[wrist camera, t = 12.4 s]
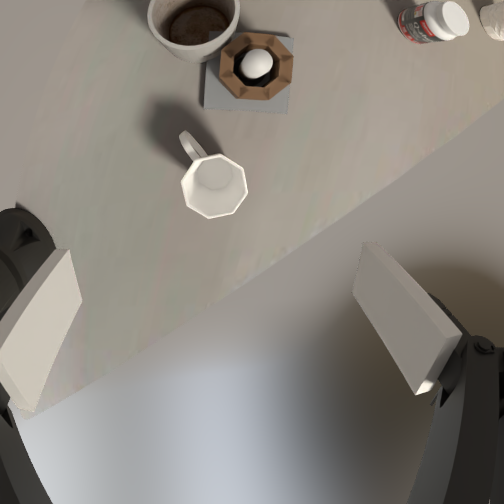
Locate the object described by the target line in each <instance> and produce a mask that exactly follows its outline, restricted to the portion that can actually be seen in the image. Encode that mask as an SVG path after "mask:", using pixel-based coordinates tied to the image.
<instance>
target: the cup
mask: <svg viewBox="0 0 504 504" xmlns="http://www.w3.org/2000/svg"><path fill="white" fill-rule="evenodd" d="M179 139H180V142H181V144H182V146H183V147H184V149H185V151H186V152H187V154H188V155H189V156H190V158H191V159H192V160H193V163H192V165H191V166H190V168H189V169H188V171H187V173H186V174H185V176H184V177H183V179H182V180H181V185H182V189H183V193H184V197H185V201H186V205H187V206H188V207H189V208H191V209H193V210H195V211H196V212H198V213H200V214H201V215H203V216H205V217H206V218H208V219H210V218H215V217H219V216H224V215H229V214H234V212H235V211H236V209H237V208H238V207H239V205H240V204H241V202H242V201H243V199H244V198H245V197H246V195H247V194H248V190H247V185H246V179H245V174H244V169H243V168H242V167H241V166H239V165H238V164H236V163H234V162H233V161H231V160H230V159H228V158H227V157H225V156H223V155H222V154H220V153H218V154H214V155H209V156H208V155H207V153H206V152H205V151H204V149H203V148H202V147H201V146H200V145H199V143H198V142H197V141H196V140H195V139H194V138H193V137H192V135H191V134H190V133H189V132H187V131H186V130H185V131H184V132H182V133H181V134H180V135H179ZM194 149H195V150H196V151H197V152H198V154H199V155H200V156H201V157H200V156H199V155H198V154H197V152H196V151H195V150H194Z"/></svg>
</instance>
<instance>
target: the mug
mask: <svg viewBox="0 0 504 504" xmlns="http://www.w3.org/2000/svg"><path fill="white" fill-rule="evenodd" d="M239 15H240V3H239V0H151V2H150V5H149V8H148V14H147V18H148V24H149V27H150V30H151V31H152V33H153V34H154V36H155V37H156V38H157V39H158V40H159V41H160V42H161V43H162V44H163V45H164V46H165V47H166V48H167V49H168V50H169V51H170V52H171V53H172V54H173V55H174V56H176V57H177V58H179V59H181V60H183V61H186V62H191V63H203V62H207V60H210V59H213V58H215V57H217V56H219V55H220V54H221V50H222V49H223V48H224V47H225V46H227V45H228V44H229V43H231V42H232V41H233V38H234V35H235V32H236V27H237V23H238V19H239ZM209 31H222V32H224V33H223V34H221V35H220V36H219V37H218V38H216V39H214V40H212V41H210V42H209Z"/></svg>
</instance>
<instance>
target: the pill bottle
mask: <svg viewBox="0 0 504 504" xmlns="http://www.w3.org/2000/svg"><path fill="white" fill-rule="evenodd" d="M398 24H399V28H400V30H401V32H402V33H403V35H404V36H405V37H406V38H407V39H408V40H410V41H411V42H413V43H417V44H424V43H431V42H438V41H447V40H452V39H454V38H455V37H456V36H461V35H465V34H466V33H467V32H468V30H469V21H468V18H467V16H466V14H465V12H464V10H463V9H462V8H461V7H460V6H459V5H458V4H456V3H455V2H452V1H446V2H439V1H430V2H427V3H423V4H420V5H417V6H414V7H410V8H407V9H405V10H403V11H402V12H401V13H400V14H399V17H398Z"/></svg>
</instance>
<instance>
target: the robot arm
mask: <svg viewBox="0 0 504 504" xmlns="http://www.w3.org/2000/svg"><path fill="white" fill-rule="evenodd" d="M352 294H353V295H354V297H355V298H356V300H357V301H358V303H359V304H360V306H361V308H362V309H363V310H364V312H365V314H366V315H367V317H368V318H369V320H370V322H371V323H372V325H373V326H374V328H375V329H376V331H377V333H378V334H379V336H380V337H381V339H382V341H383V342H384V344H385V346H386V347H387V349H388V350H389V352H390V354H391V355H392V357H393V359H394V360H395V362H396V364H397V365H398V367H399V369H400V370H401V372H402V374H403V375H404V377H405V379H406V380H407V382H408V384H409V386H410V387H411V389H412V391H413V392H414V394H415V395H417V394H420V393H424V392H427V391H430V390H431V389H432V387H433V386H434V384H435V383H436V381H437V380H439V381H440V383H441V384H442V386H441V387H440V389H439V391H438V392H437V394H436V395H435V397H434V398H433V400H432V401H431V403H430V405H431V406H432V405H433V404H434V402H435V401H436V406H435V410H434V415H433V419H432V424H431V428H430V432H429V436H428V440H427V444H426V447H425V451H424V454H423V457H422V461H421V464H420V467H419V470H418V473H417V477H416V480H415V482H414V485H413V488H412V491H411V494H410V496H409V499H408V501H407V504H489V499H490V504H504V348H498V347H495V346H494V344H493V343H492V342H491V341H489V340H488V339H486V338H485V337H482V336H471V335H470V334H469V333H468V332H467V330H466V329H465V328H464V327H463V326H462V325H461V323H460V322H459V321H458V320H457V319H456V318H455V317H454V316H452V313H451V312H450V311H449V310H448V309H446V307H445V305H444V304H443V303H441V301H440V300H439V299H437V298H436V297H434V296H433V295H431V294H429V293H426V292H425V291H424V290H423V289H422V288H421V287H420V285H418V283H417V282H416V281H415V280H414V279H413V278H412V277H411V276H410V275H409V274H408V273H407V272H406V271H405V270H404V269H403V268H402V267H401V266H400V265H399V264H398V263H397V262H396V260H395V259H394V258H393V257H391V255H390V254H389V253H388V252H387V251H386V250H385V249H384V248H383V247H382V246H381V245H379V244H378V243H377V242H363V245H362V250H361V254H360V259H359V264H358V268H357V273H356V277H355V282H354V286H353V290H352ZM81 303H82V297H81V294H80V290H79V287H78V283H77V279H76V276H75V272H74V268H73V264H72V260H71V255H70V251H69V249H56V247H55V244H54V242H53V240H52V238H51V236H50V234H49V232H48V231H47V229H46V228H45V227H44V225H43V224H42V223H41V222H40V221H39V220H38V219H37V218H36V217H34V216H33V215H32V214H30V213H28V212H26V211H24V210H21V209H17V208H10V209H5V210H3V211H1V212H0V504H53V503H52V502H51V500H50V498H49V496H48V495H47V493H46V491H45V489H44V487H43V485H42V483H41V481H40V479H39V477H38V475H37V473H36V471H35V469H34V467H33V464H32V462H31V460H30V458H29V456H28V453H27V451H26V449H25V446H24V444H23V441H22V439H21V436H20V434H19V431H18V428H17V426H16V423H15V420H14V417H13V414H12V412H11V410H10V408H9V407H8V402H9V400H10V398H11V399H12V401H13V402H14V404H15V405H16V406H17V408H19V409H23V410H27V411H31V412H34V411H35V408H36V406H37V403H38V400H39V397H40V395H41V392H42V390H43V387H44V384H45V382H46V379H47V377H48V374H49V372H50V370H51V367H52V365H53V362H54V360H55V358H56V356H57V353H58V351H59V349H60V346H61V344H62V342H63V340H64V338H65V336H66V333H67V331H68V329H69V327H70V325H71V323H72V321H73V319H74V317H75V315H76V313H77V311H78V309H79V307H80V305H81Z"/></svg>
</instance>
